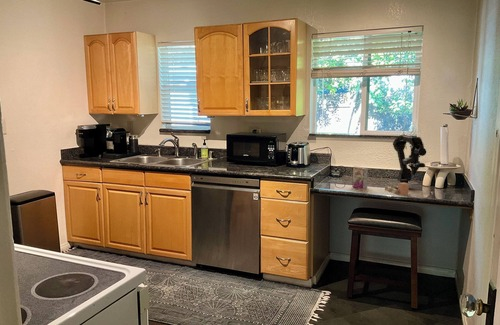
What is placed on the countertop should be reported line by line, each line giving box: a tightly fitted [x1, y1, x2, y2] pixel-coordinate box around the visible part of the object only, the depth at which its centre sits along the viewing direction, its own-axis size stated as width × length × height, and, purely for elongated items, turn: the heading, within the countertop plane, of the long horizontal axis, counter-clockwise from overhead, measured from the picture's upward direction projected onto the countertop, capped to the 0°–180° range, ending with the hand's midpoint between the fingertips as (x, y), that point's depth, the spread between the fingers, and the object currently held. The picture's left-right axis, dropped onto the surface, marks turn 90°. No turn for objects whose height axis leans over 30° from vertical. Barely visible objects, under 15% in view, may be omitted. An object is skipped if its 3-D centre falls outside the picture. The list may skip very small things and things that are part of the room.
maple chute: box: [384, 184, 400, 195], centre depth 296 cm, size 16×8×4 cm, turn 14°
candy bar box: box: [352, 166, 369, 190], centre depth 311 cm, size 11×5×16 cm, turn 31°
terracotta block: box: [397, 182, 410, 196], centre depth 287 cm, size 5×5×8 cm
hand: (413, 175), depth 294 cm, fingers closed
